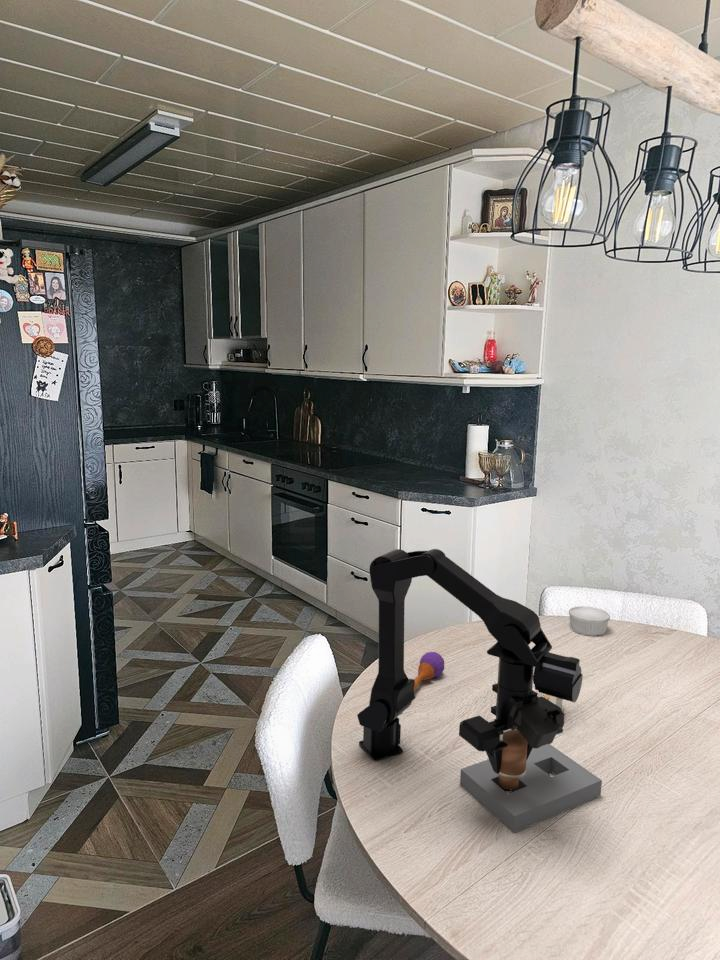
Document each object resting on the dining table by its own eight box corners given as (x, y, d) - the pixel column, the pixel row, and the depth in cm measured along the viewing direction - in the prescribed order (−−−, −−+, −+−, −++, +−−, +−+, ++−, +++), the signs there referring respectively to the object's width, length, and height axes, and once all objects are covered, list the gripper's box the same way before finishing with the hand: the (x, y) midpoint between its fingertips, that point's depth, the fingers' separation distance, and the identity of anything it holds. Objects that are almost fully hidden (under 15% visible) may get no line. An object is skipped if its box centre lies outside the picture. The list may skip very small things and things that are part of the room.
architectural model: (539, 719, 141) (541, 686, 139) (547, 705, 147) (549, 674, 145) (555, 723, 139) (557, 691, 138) (562, 709, 145) (565, 677, 144)
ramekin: (581, 619, 196) (582, 602, 195) (616, 631, 187) (617, 613, 187) (559, 628, 189) (561, 611, 188) (595, 641, 180) (596, 623, 179)
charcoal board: (513, 832, 105) (514, 816, 105) (460, 784, 118) (460, 768, 117) (600, 795, 115) (601, 780, 115) (542, 754, 127) (543, 739, 127)
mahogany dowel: (507, 797, 110) (510, 749, 108) (485, 779, 114) (488, 733, 113) (531, 787, 112) (534, 740, 111) (509, 770, 117) (512, 725, 116)
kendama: (385, 685, 145) (424, 647, 162) (390, 710, 146) (428, 669, 163) (409, 688, 142) (446, 648, 159) (414, 713, 143) (450, 671, 160)
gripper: (504, 719, 99) (498, 812, 102) (592, 692, 108) (584, 778, 110) (459, 687, 108) (454, 773, 111) (542, 664, 117) (537, 744, 120)
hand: (509, 767), depth 113 cm, fingers closed on mahogany dowel, 5 cm apart
